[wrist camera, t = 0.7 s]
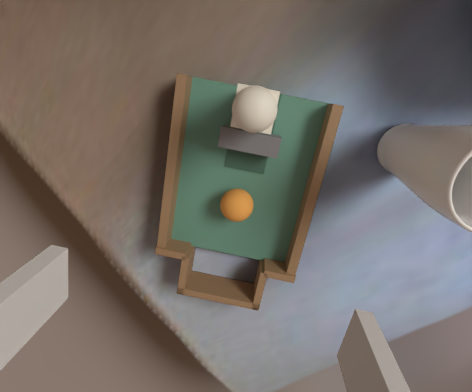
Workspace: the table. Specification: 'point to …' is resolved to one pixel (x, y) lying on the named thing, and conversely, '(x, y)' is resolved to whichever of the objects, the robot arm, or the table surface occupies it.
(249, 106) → the striker
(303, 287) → the table surface
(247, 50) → the table surface
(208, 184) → the pitch
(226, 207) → the ball
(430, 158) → the drinking glass
